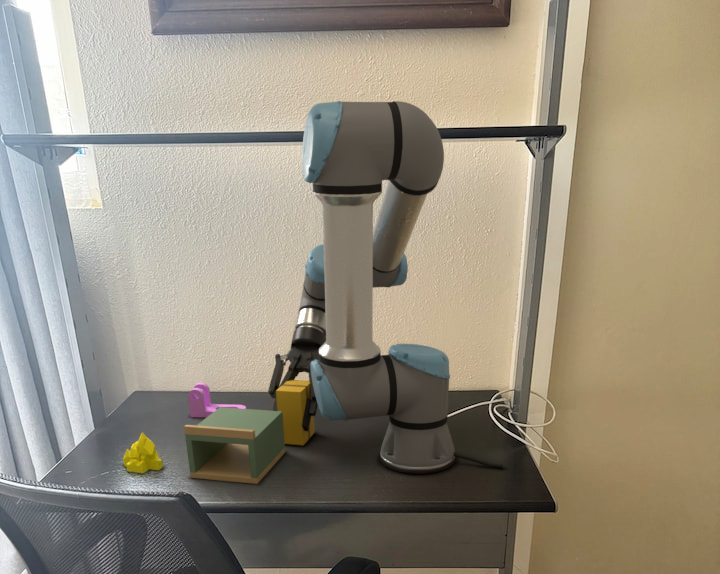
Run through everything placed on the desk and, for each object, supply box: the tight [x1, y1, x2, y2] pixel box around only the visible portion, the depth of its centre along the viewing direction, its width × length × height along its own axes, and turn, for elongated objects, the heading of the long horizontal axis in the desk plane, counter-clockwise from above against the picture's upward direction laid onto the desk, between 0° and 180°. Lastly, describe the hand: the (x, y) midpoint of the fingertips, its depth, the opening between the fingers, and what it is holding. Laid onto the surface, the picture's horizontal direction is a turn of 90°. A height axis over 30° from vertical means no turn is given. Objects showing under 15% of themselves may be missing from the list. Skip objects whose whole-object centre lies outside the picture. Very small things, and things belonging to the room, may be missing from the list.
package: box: [276, 379, 316, 446], centre depth 153 cm, size 6×8×12 cm
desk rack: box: [183, 407, 286, 485], centre depth 141 cm, size 14×16×11 cm
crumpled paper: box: [122, 431, 164, 474], centre depth 141 cm, size 6×8×8 cm
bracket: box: [187, 382, 247, 418], centre depth 170 cm, size 13×6×7 cm, turn 86°
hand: (291, 427), depth 150 cm, fingers closed on package, 6 cm apart
